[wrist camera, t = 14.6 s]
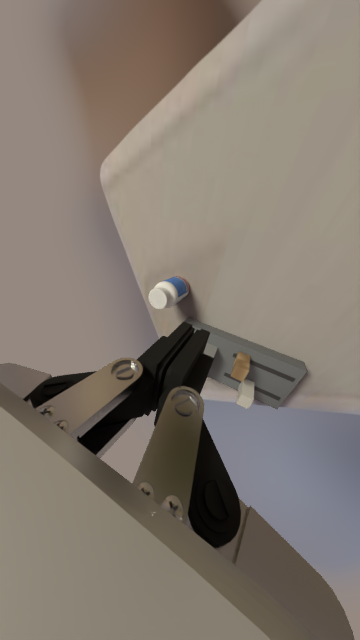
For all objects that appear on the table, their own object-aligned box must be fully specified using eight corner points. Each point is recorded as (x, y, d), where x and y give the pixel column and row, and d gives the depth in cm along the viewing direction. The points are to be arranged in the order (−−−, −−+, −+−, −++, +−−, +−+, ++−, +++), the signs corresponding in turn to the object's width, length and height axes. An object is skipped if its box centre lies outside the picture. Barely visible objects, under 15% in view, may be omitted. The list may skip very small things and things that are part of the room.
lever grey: (254, 382, 36) (253, 400, 32) (249, 391, 38) (247, 409, 34) (243, 377, 37) (241, 394, 33) (238, 386, 38) (236, 403, 34)
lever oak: (250, 355, 34) (249, 370, 30) (244, 366, 36) (242, 382, 32) (238, 351, 35) (236, 365, 31) (233, 361, 36) (230, 376, 32)
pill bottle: (172, 272, 38) (148, 279, 30) (192, 281, 37) (173, 290, 29) (166, 293, 41) (143, 305, 33) (185, 302, 39) (166, 317, 31)
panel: (303, 362, 34) (313, 386, 28) (275, 398, 39) (278, 425, 33) (188, 317, 41) (176, 329, 35) (179, 354, 46) (167, 369, 41)
